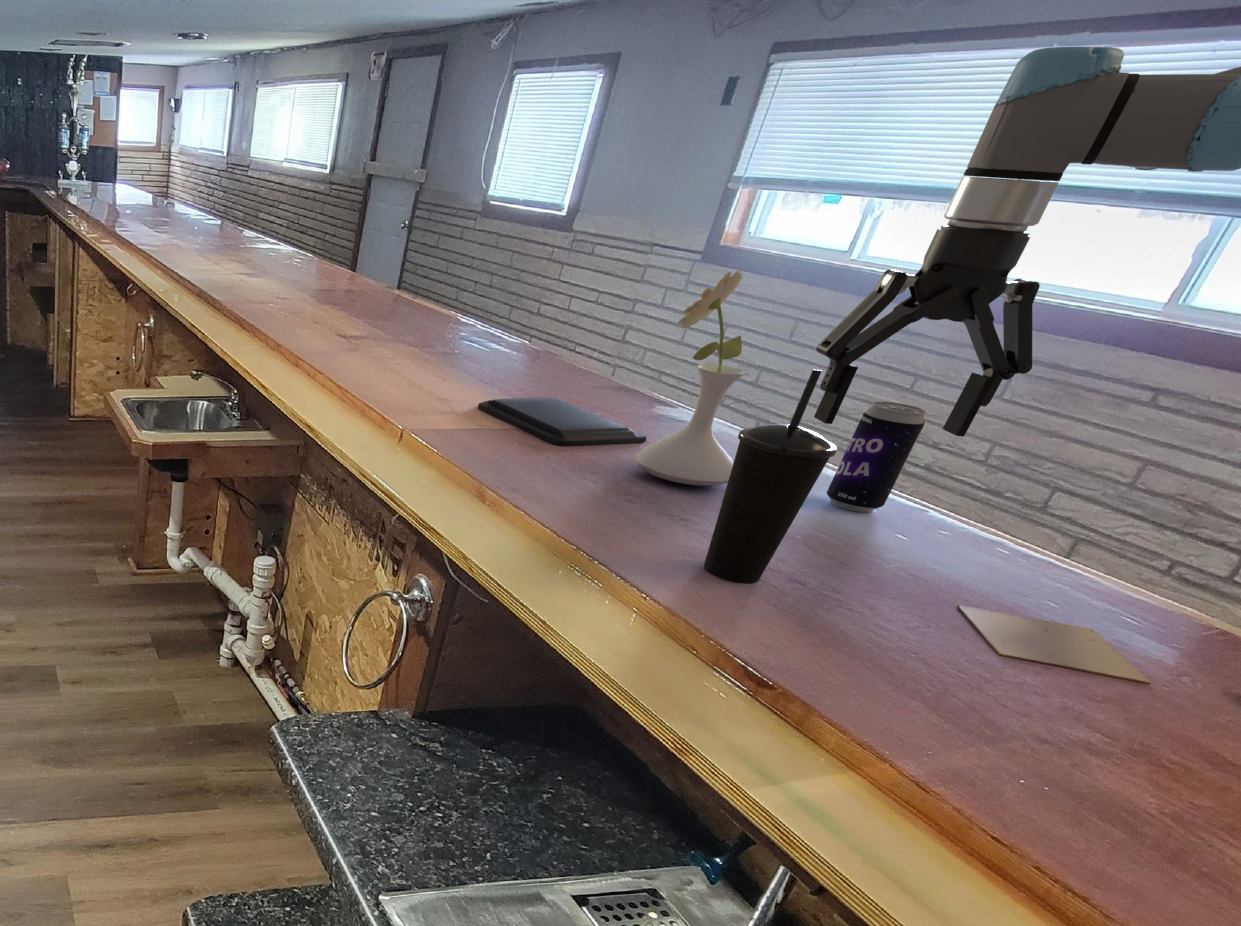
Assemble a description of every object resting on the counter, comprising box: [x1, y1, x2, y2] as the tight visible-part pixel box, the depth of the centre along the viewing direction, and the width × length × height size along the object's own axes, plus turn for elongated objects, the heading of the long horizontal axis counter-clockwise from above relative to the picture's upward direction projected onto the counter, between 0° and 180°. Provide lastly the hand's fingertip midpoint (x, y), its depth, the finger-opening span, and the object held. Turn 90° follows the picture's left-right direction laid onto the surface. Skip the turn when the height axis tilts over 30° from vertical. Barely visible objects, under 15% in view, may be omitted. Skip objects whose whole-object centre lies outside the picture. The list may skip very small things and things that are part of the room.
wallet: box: [477, 397, 648, 446], centre depth 133 cm, size 20×2×15 cm
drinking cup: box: [703, 368, 838, 584], centre depth 83 cm, size 8×8×20 cm
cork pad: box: [956, 604, 1152, 684], centre depth 78 cm, size 10×10×1 cm
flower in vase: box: [634, 269, 746, 487], centre depth 107 cm, size 13×11×25 cm
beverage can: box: [826, 400, 927, 513], centre depth 104 cm, size 6×6×12 cm
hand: (887, 427), depth 102 cm, fingers open, 13 cm apart
